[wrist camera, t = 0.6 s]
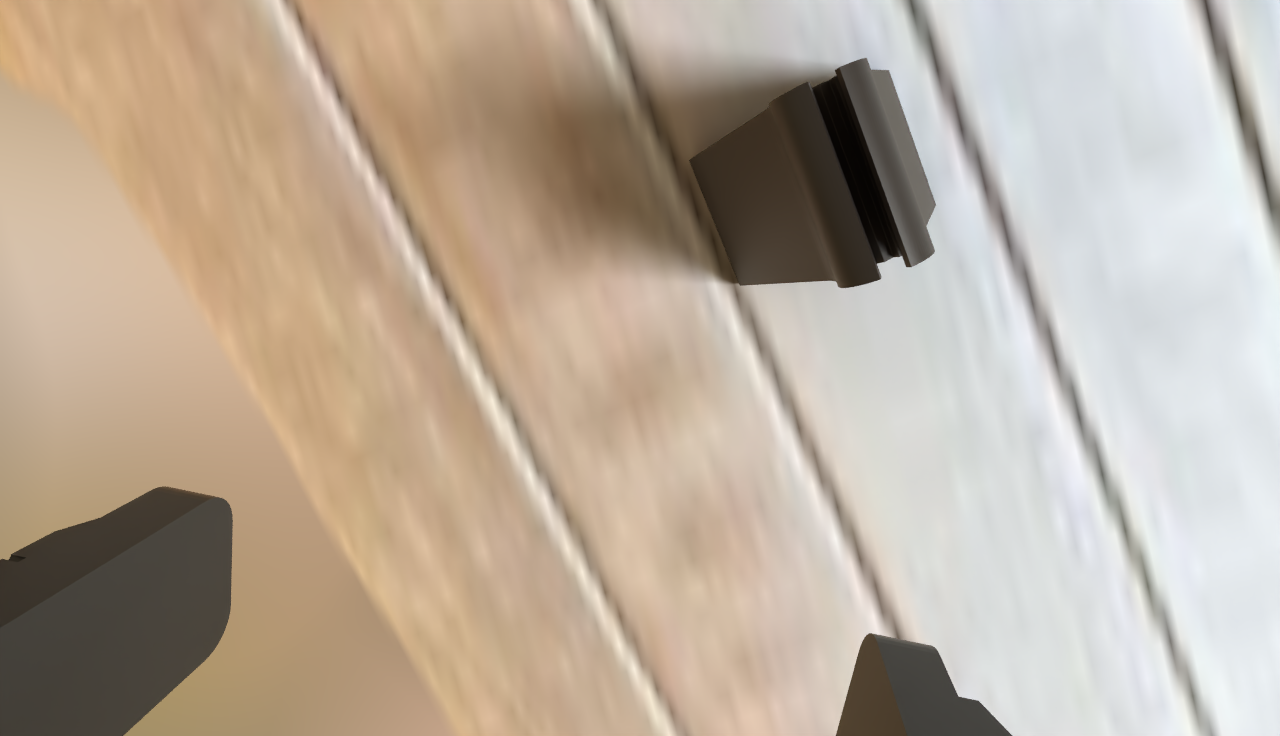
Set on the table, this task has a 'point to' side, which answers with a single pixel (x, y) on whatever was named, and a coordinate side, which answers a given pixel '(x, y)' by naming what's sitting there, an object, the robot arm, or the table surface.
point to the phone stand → (820, 185)
